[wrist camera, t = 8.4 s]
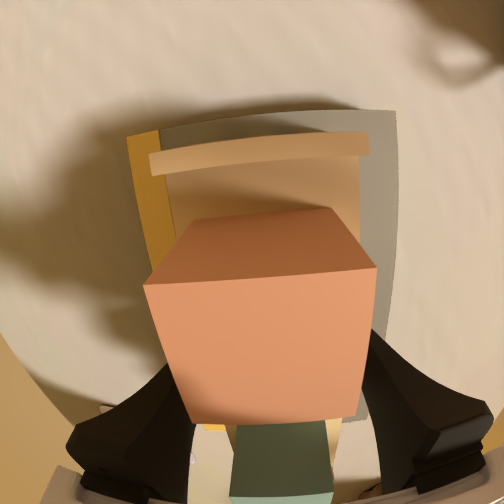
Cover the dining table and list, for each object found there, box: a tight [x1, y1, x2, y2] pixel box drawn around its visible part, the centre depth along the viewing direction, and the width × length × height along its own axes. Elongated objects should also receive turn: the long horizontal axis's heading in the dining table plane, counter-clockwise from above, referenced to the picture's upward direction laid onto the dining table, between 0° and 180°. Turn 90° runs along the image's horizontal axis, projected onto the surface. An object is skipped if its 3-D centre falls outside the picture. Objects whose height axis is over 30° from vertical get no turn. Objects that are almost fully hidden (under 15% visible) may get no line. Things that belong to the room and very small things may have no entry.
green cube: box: [229, 420, 334, 504], centre depth 11 cm, size 4×4×4 cm
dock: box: [126, 110, 399, 431], centre depth 17 cm, size 20×12×3 cm, turn 6°
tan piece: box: [149, 132, 369, 482], centre depth 13 cm, size 18×6×6 cm, turn 6°
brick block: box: [143, 208, 377, 425], centre depth 7 cm, size 4×4×4 cm
